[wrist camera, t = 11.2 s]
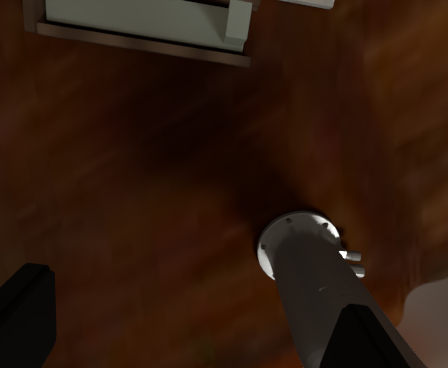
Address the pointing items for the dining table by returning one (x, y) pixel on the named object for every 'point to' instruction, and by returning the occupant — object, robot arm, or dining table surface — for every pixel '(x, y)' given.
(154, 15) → the strip
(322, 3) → the grey piece
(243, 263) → the dining table surface
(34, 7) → the lane frame
